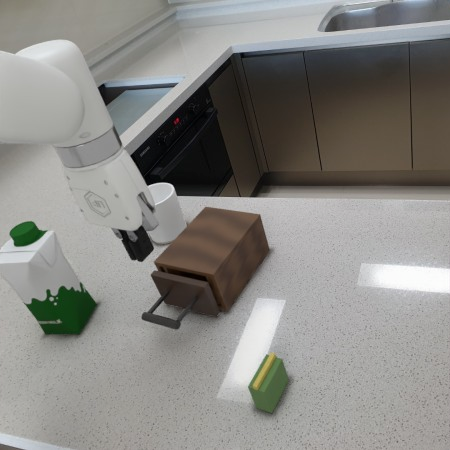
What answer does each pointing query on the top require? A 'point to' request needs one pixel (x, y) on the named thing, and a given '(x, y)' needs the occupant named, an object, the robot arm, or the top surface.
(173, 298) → the drawer
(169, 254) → the cabinet
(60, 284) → the milk carton
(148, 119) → the top surface
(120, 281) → the top surface
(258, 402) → the green sponge
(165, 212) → the mug
